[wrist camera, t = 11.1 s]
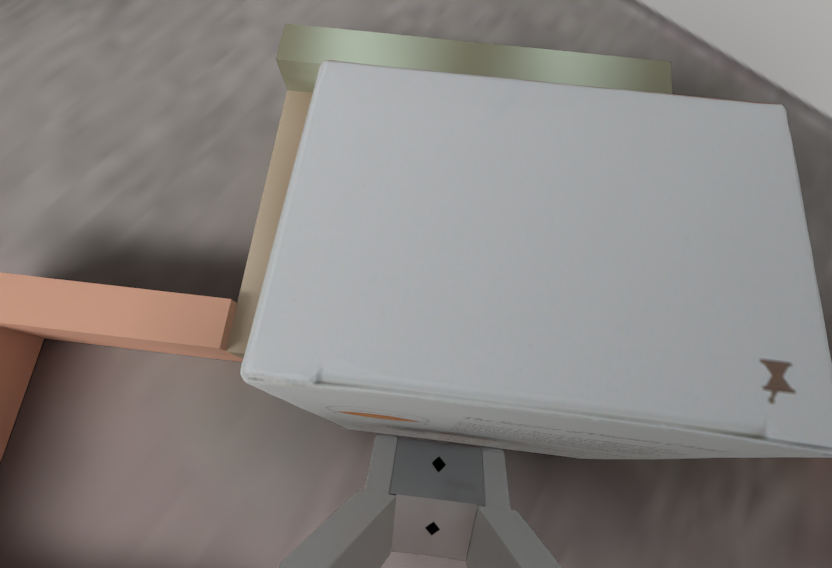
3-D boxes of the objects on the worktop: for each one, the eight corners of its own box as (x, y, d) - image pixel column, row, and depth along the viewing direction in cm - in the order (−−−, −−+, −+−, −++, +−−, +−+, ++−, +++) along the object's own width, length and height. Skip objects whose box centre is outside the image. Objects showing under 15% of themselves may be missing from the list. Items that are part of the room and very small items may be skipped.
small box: (582, 301, 18) (804, 96, 8) (581, 463, 16) (877, 464, 6) (366, 275, 18) (315, 43, 8) (339, 430, 16) (226, 379, 6)
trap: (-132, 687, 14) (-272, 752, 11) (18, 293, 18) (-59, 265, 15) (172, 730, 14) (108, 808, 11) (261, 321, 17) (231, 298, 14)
